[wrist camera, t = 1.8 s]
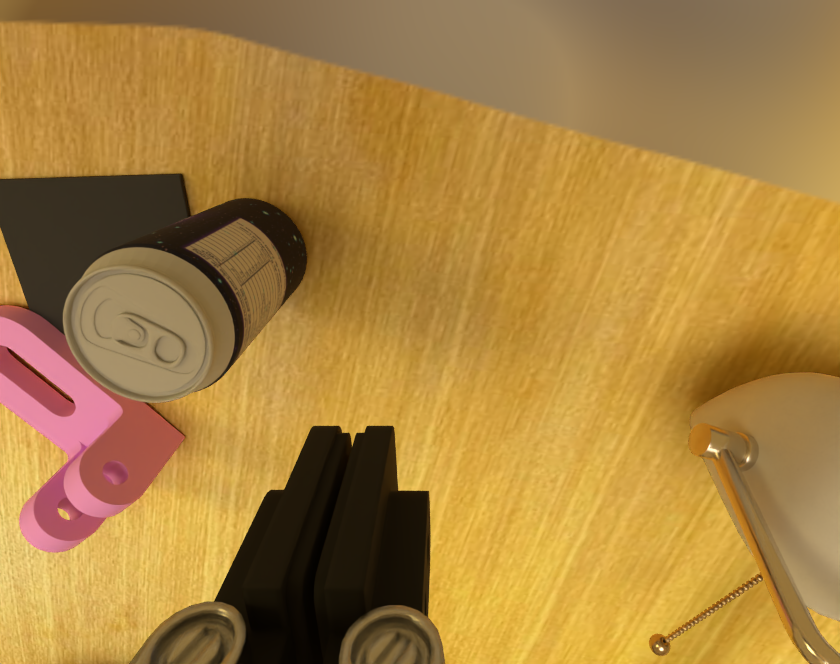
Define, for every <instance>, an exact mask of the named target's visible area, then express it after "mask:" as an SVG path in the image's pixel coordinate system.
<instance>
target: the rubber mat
mask: <svg viewBox="0 0 840 664" xmlns="http://www.w3.org/2000/svg"><path fill="white" fill-rule="evenodd" d="M189 217H190V212H189V207H188V202H187V197H186V192H185V188H184V183H183V178H182V174H155V175H122V176H90V177H57V178H25V179H0V228H1V230H2V233H3V236H4V239H5V242H6V244H7V247H8V250H9V253H10V256H11V259H12V261H13V264H14V267H15V270H16V273H17V276H18V278H19V281H20V284H21V287H22V290H23V293H24V295H25V298H26V301H27V304H28V307H29V309H30V311H32V312H34V313H36V314H38V315H40V316H41V317H43V318H44V319H45V320H47V321H48V322H49V323H50V324H52V325H53V326H54V327H55V328H56V329H58V330H59V331H60V332H61V333H62V334H64V335H65V333H64V326H63V310H64V306H65V302H66V299H67V297H68V295H69V293H70V291H71V289H72V288H73V287H74V285H75V284H76V283H77V282H78V281H79V280H80V279H81V278H82V276H83V274H84V272H85V270H86V269H87V268H88V266H89V265H90V264H91V263H92V262H93V261H94V260H95V259H96V258H97V257H98V256H100V255H101V254H103V253H104V252H106V251H108V250H110V249H113V248H115V247H117V246H120V245H122V244H125V243H127V242H130V241H132V240H135V239H137V238H140V237H142V236H144V235H147V234H149V233H152V232H154V231H157V230H159V229H162V228H164V227H167V226H169V225H171V224H174V223H176V222H179V221H181V220H184V219H186V218H189Z"/></svg>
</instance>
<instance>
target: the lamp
mask: <svg viewBox="0 0 840 664" xmlns="http://www.w3.org/2000/svg"><path fill="white" fill-rule="evenodd" d="M690 427H691V430H692V431H691V433H690V435H689V440H688V445H689V449H690V451H691V453H692V454H694V455H695V456H698V457H702V458H703V460H704V462H705V464H706V466H707V468H708V471H709V473H710V475H711V477H712V479H713V481H714V483H715V485H716V488H717V490H718V492H719V494H720V496H721V498H722V500H723V503H724V505H725V507H726V509H727V511H728V513H729V515H730V517H731V519H732V521H733V523H734V525H735V527H736V529H737V531H738V533H739V534H740V536H741V538H742V539H743V541H744V543H745V544H746V546H747V548H748V549H749V551H750V553H751V554H752V555H753V557H754V558H755V560H756V563H757V565H758V567H759V570H760V574H757V575H756V576H755V578H754V577H753V578H751V581H747V582H746V584H742V587H738V588H737V590H733V593H729V596H727V595H726V596H725V597H724V598H722V599H720V601H717V602H716V604H713V605H712V607H708V609H705V610H704V612H701V613H700V615H699V614H698V615H697V616H696V617H694V618H693V620H689V622H686V623H685V625H682V627H679V628H678V629H676V630H675V632H672V633H671V634H669V635H668V636H666V637H665V636H664V635H662V634H654V635H652V636H651V638H650V640H649V646H650V648H651V650H652V651H653V652H654V653H655V654H656V655H659V656H664V655H667V654H668V653H669V651H670V643H669V642H670V640H673V639H674V638H677V636H680V635H681V633H684V631H687V630H688V629H690V628H691V627H692V626H695V624H698V623H699V621H702V620H703V619H705V618H706V617H707V616H710V615H711V613H714V612H715V611H717V610H718V609H719V608H722V607H723V605H726V604H727V602H731V599H735V598H736V597H738V596H740V594H743V593H744V590H745V591H747V590H749V588H752V587H753V585H756V584H758V581H762V580H763V579H764V581H765V584H766V586H767V588H768V590H769V593H770V595H771V597H772V600H773V602H774V604H775V607H776V609H777V611H778V614H779V616H780V618H781V621H782V623H783V625H784V628H785V630H786V631H787V633H788V635H789V637H790V639H791V641H792V642H793V644H794V645H795V647H796V648H797V649H798V651H799V652H800V653H801V655H802V656H803V657H804V659H805V660H806V661H807V662H808V663H809V664H840V654H839V653H838V652H837V651H836V650H835V649H834V648H833V647H832V646H831V645H829V644H828V642H827V641H826V640H825V639H824V637H823V636H822V635H821V634H820V632H819V630H818V629H817V627H816V625H815V623H814V621H813V619H812V617H811V615H810V613H809V611H808V609H807V607H808V608H810V609H812V610H813V611H815V612H817V613H818V614H820V615H823V616H826V617H828V618H831V619H834V620H837V621H839V622H840V377H836V376H832V375H827V374H822V373H812V372H796V373H783V374H778V375H772V376H768V377H764V378H761V379H757V380H754V381H750V382H748V383H745V384H743V385H740V386H737V387H735V388H732V389H730V390H728V391H726V392H724V393H722V394H720V395H718V396H716V397H715V398H713V399H711V400H709V401H707V402H706V403H704V404H703V405H701V406H700V407H698V408H697V409H695V410H694V411H693V413H692V414H691V416H690ZM806 606H807V607H806Z"/></svg>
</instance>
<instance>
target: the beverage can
mask: <svg viewBox="0 0 840 664" xmlns="http://www.w3.org/2000/svg"><path fill="white" fill-rule="evenodd" d="M306 264H307V253H306V247H305V243H304V240H303V238H302V235H301V233H300V231H299V230H298V228H297V227H296V225H295V224H294V222H293V221H292V220H291V219H290V218H289V217H288V216H287V215H286V214H285V213H284V212H282V211H281V210H280V209H278V208H277V207H275V206H273V205H271V204H269V203H267V202H264V201H261V200H256V199H249V198H243V199H235V200H231V201H228V202H225V203H223V204H221V205H218V206H216V207H213V208H211V209H208V210H206V211H203V212H201V213H198V214H196V215H194V216H191V217H189V218H186V219H184V220H181V221H179V222H176V223H174V224H171V225H169V226H167V227H164V228H162V229H159V230H157V231H154V232H152V233H149V234H147V235H144V236H142V237H140V238H137V239H135V240H132V241H130V242H127V243H125V244H122V245H120V246H117V247H115V248H113V249H110V250H108V251H106V252H104V253H103V254H101V255H100V256H98V257H97V258H96V259H95V260H94V261H93V262H92V263H91V264H90V265H89V266H88V268H87V269H86V270H85V272H84V274H83V276H82V278H81V279H80V280H79V281H78V282H77V283H76V284H75V285H74V287H73V288H72V289H71V291H70V293H69V295H68V297H67V299H66V302H65V306H64V310H63V326H64V333H65V336H66V340H67V343H68V345H69V347H70V349H71V351H72V353H73V355H74V356H75V358H76V360H77V361H78V363H79V364H80V365H81V366H82V368H83V369H84V370H85V371H86V372H87V373H88V374H89V375H90V376H91V377H92V378H93V379H94V380H96V381H97V382H98V383H100V384H101V385H102V386H104V387H105V388H107V389H109V390H110V391H112V392H114V393H116V394H118V395H121V396H123V397H125V398H129V399H132V400H135V401H141V402H147V403H161V402H169V401H173V400H177V399H180V398H182V397H184V396H186V395H188V394H190V393H193V392H196V391H199V390H202V389H205V388H207V387H209V386H211V385H212V384H214V383H215V382H217V381H218V380H219V379H220V378H221V377H222V376H223V375H224V374H225V373H226V372H227V371H228V370H229V369H230V367H231V366H232V365H233V364H234V363H235V361H236V360H237V359H238V358H239V357H240V355H241V354H242V353H243V352H244V351H245V349H246V348H247V347H248V346H249V345H250V343H251V342H252V341H253V340H254V339H255V337H256V336H257V335H258V334H259V333H260V331H261V330H262V329H263V328H264V327H265V325H266V324H267V323H268V322H269V321H270V319H271V318H272V317H273V316H274V315H275V313H276V312H277V311H278V310H279V309H280V307H281V306H282V305H283V304H284V303H285V301H286V300H287V299H288V298H289V297H290V295H291V294H292V293H293V292H294V291H295V290H296V288H297V287H298V286H299V284H300V283H301V281H302V279H303V277H304V274H305V270H306Z"/></svg>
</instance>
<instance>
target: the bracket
mask: <svg viewBox="0 0 840 664" xmlns="http://www.w3.org/2000/svg"><path fill="white" fill-rule="evenodd" d="M7 347H8V348H10V349H11V350H13V351H14V352H15V353H16V354H18V355H19V356H20V357H21V358H23V359H24V360H25V361H26V362H28V363H29V364H30V365H31V366H33V367H34V368H35V369H36V370H38V371H39V372H40V373H41V374H43V375H44V376H45V377H46V378H48V379H49V380H50V381H51V382H53V383H54V384H55V385H56V386H58V387H59V388H60V389H61V390H63V391H64V392H65V393H66V394H68V395H69V396H70V397H71V398H72V399H73V401H74V403H72V402H70V401H68V400H67V399H65V398H64V397H63V396H62V395H60V394H59V393H58V392H57V391H55V390H54V389H53V388H52V387H50V386H49V385H48V384H47V383H45V382H44V381H43V380H42V379H40V378H39V377H38V376H37V375H35V374H34V373H33V372H32V371H30V370H29V369H28V368H27V367H25V366H24V365H23V364H21V363H20V362H19V361H18V360H16V359H15V358H14V357H13V356H12V355H11V354H10V353H9V351H8V349H7ZM0 403H2V404H3V405H4V406H6V407H7V408H8V409H10V410H11V411H12V412H14V413H15V414H16V415H17V416H19V417H20V418H21V419H23V420H24V421H25V422H27V423H28V424H29V425H31V426H32V427H33V428H35V429H36V430H37V431H39V432H40V433H41V434H42V435H44V436H45V437H46V438H48V439H49V440H50V441H52V442H53V443H54V444H56V445H57V446H58V447H60V448H61V449H62V450H63V451H65V452H66V453H67V455H68V461H67V462H66V463H65V464H64V465H63V466H62V467H61V468H60V469H59V470H58V471H57V472H56V473H55V474H54V475H53V476H52V477H51V478H50V479H49V480H48V481H47V482H46V483H45V484H44V485H43V486H42V487H41V488H40V489H39V490H38V491H37V492H36V493H35V494H34V495H33V496H32V497H31V498H30V499H29V500H28V501H27V502H26V503H25V504H24V506H23V508H22V510H21V513H20V518H19V524H20V529H21V532H22V534H23V536H24V537H25V539H26V540H27V541H28V542H29V543H30V544H31V545H33V546H34V547H36V548H38V549H40V550H43V551H47V552H63V551H67V550H70V549H72V548H74V547H75V546H77V545H78V544H80V543H81V542H82V541H84V540H85V539H86V538H88V537H89V536H90V535H91V534H93V533H94V532H95V531H96V530H97V529H98V528H99V527H100V525H101V524H102V523H103V521H104V520H105V519H106V518H107V517H110V516H114V515H116V514H118V513H120V512H122V511H123V510H124V509H126V508H127V507H128V506H129V505H131V504H132V503H133V502H135V501H136V500H137V499H139V498H140V497H141V496H142V495H143V493H144V492H145V491H146V489H147V488H148V487H149V485H150V484H151V483H152V481H153V480H154V479H155V477H156V476H157V475H158V473H159V472H160V471H161V469H162V468H163V467H164V465H165V464H166V463H167V461H168V460H169V459H170V457H171V456H172V455H173V453H174V452H175V451H176V449H177V448H178V447H179V445H180V444H181V443H182V441H183V440H184V439H185V436H183V435H182V434H181V433H180V432H179V431H178V430H176V429H175V428H174V427H173V426H172V425H170V424H169V423H168V422H167V421H166V420H164V419H163V418H162V417H161V416H160V415H159V414H157V413H156V412H155V411H154V410H153V409H151V408H150V407H149V406H148V405H147V404H145V403H144V402H141V401H135V400H132V399H129V398H125V397H123V396H121V395H118V394H116V393H114V392H112V391H110V390H109V389H107V388H105V387H104V386H102V385H101V384H100V383H98V382H97V381H96V380H94V379H93V378H92V377H91V376H90V375H89V374H88V373H87V372H86V371H85V370H84V369H83V368H82V366H81V365H80V364H79V363H78V361H77V360H76V358H75V356H74V355H73V353H72V351H71V349H70V347H69V345H68V343H67V340H66V336H65V335H64V334H62V333H61V332H60V331H59V330H58V329H56V328H55V327H54V326H53V325H52V324H50V323H49V322H48V321H47V320H45V319H44V318H43V317H41V316H40V315H38V314H36V313H34V312H32V311H30V310H27V309H25V308H21V307H17V306H10V305H1V306H0ZM57 508H60V509H63V510H65V511H66V512H67V513H68V515H69V517H70V520H66V519H64V518H62V517H61V516H60V515H59V513H58V510H57Z"/></svg>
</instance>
